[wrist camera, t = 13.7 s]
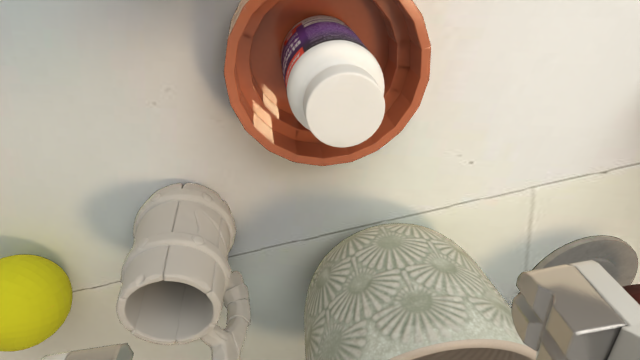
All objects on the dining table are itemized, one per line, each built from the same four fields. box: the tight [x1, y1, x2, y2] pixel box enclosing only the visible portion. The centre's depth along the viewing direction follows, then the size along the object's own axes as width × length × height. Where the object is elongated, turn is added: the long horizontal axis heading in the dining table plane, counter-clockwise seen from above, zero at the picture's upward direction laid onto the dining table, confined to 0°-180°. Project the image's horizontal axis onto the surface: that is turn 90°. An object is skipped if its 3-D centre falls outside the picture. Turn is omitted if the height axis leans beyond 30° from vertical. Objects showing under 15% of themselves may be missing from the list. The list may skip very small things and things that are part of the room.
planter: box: [304, 223, 537, 360], centre depth 35 cm, size 17×17×15 cm
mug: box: [116, 183, 251, 360], centre depth 32 cm, size 8×12×12 cm, turn 31°
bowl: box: [224, 0, 431, 166], centre depth 28 cm, size 12×12×5 cm
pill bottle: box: [281, 15, 385, 148], centre depth 25 cm, size 5×5×10 cm
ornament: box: [0, 255, 72, 351], centre depth 32 cm, size 7×7×10 cm
